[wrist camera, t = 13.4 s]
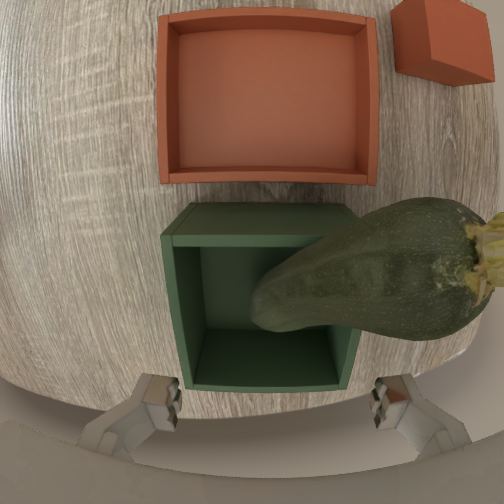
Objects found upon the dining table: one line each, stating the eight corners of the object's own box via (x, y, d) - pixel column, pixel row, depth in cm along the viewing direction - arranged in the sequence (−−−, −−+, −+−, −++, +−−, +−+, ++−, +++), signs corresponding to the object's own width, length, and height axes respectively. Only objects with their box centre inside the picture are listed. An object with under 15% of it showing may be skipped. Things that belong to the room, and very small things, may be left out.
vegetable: (217, 299, 20) (604, 168, 1) (259, 255, 21) (558, 82, 3) (263, 344, 20) (618, 363, 2) (301, 299, 22) (610, 227, 3)
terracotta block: (447, 28, 14) (485, 13, 9) (453, 87, 16) (495, 82, 11) (390, 10, 14) (421, -15, 9) (395, 72, 16) (431, 59, 11)
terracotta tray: (360, 32, 15) (375, 18, 12) (360, 178, 19) (376, 186, 16) (172, 30, 15) (158, 15, 12) (173, 176, 19) (159, 184, 16)
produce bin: (344, 203, 19) (379, 236, 13) (329, 330, 23) (346, 390, 17) (190, 202, 20) (159, 234, 14) (201, 330, 24) (185, 389, 17)
